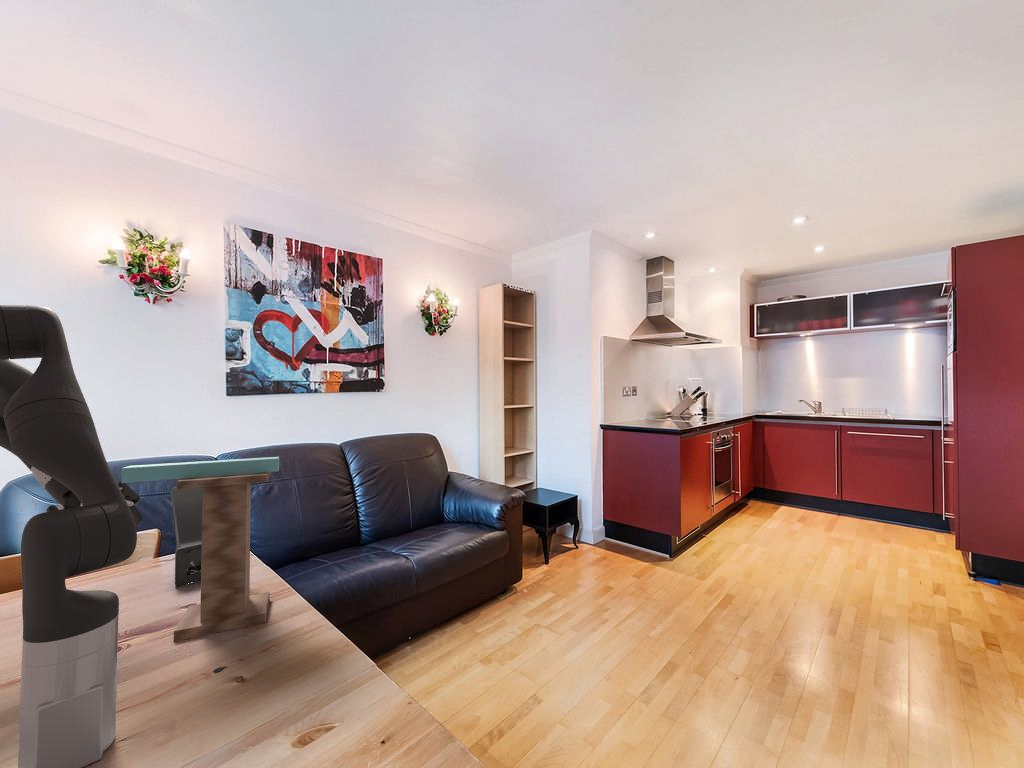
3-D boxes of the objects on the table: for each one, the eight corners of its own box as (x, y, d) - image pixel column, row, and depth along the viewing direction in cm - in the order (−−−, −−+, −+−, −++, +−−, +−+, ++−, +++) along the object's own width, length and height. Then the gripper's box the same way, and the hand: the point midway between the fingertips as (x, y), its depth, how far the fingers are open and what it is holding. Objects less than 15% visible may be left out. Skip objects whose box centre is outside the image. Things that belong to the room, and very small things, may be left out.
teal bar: (121, 483, 86) (121, 468, 87) (128, 479, 90) (129, 465, 90) (278, 471, 99) (278, 458, 99) (279, 469, 102) (279, 456, 102)
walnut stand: (173, 641, 86) (177, 481, 87) (188, 615, 96) (191, 473, 98) (265, 622, 93) (266, 474, 94) (269, 600, 103) (270, 467, 105)
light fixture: (207, 561, 131) (209, 481, 132) (224, 575, 119) (225, 488, 120) (162, 571, 123) (164, 486, 124) (175, 588, 111) (177, 494, 112)
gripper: (30, 477, 82) (85, 539, 82) (112, 454, 96) (160, 506, 96) (15, 501, 84) (69, 561, 84) (97, 475, 98) (144, 526, 97)
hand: (117, 532), depth 90 cm, fingers open, 8 cm apart
